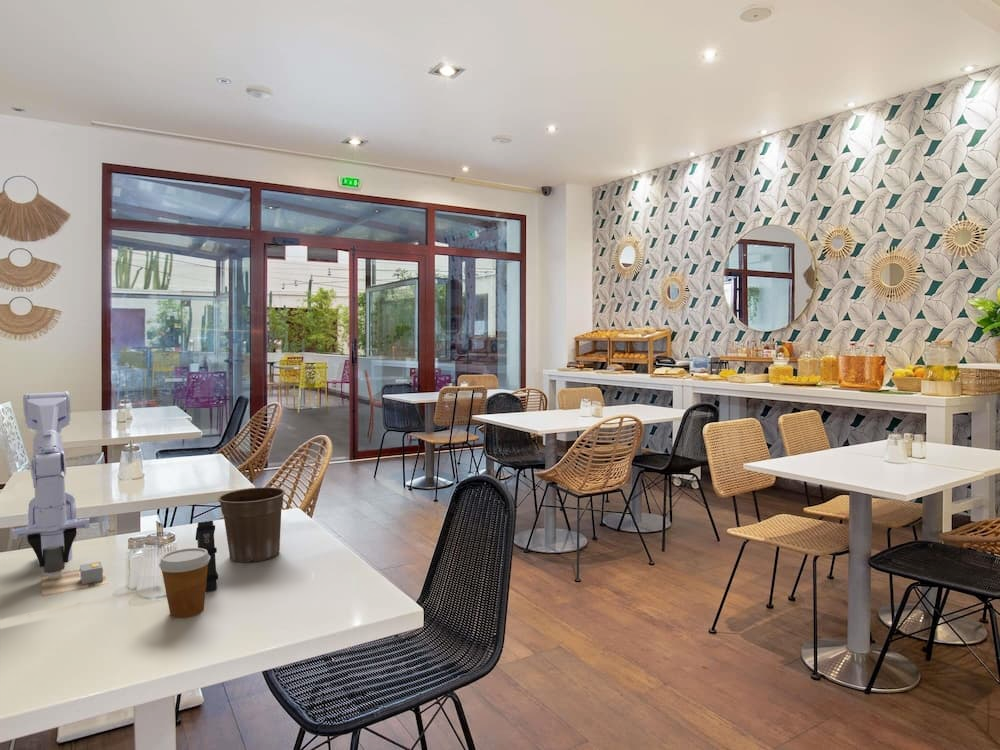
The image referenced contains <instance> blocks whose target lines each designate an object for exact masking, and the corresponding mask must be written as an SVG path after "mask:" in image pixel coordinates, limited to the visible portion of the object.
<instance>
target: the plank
mask: <svg viewBox="0 0 1000 750" xmlns="http://www.w3.org/2000/svg"><path fill="white" fill-rule="evenodd" d="M102 570H103V581H98V582H92V583H87V584H82V582H81V575H80V568H78V569H74V570H73V569H72V570H67V571H61V576H62V577H61V578H59V579H56V580H48V574H46V575H41V577H40V579H41V593H42V594H41V596H42V597H46V596H52V595H58V594H62V593H67V592H71V591H76V590H81V589H87V588H91V587H97V586H102V585H106V584H108V580H107V577H106V575H105V572H104V568H103V567H102Z"/></svg>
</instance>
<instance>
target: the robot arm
mask: <svg viewBox="0 0 1000 750" xmlns="http://www.w3.org/2000/svg"><path fill="white" fill-rule="evenodd" d="M70 395H71V393H70V392H69V391H67V390H65V391H56V392H55V391H54V392H36V393H35V392H34V393H28V392H25V393H24V394H23V395H22V403H23V406H22V408H23V415H24V419H25V421H24V422H25V425H26V426H27V427H26V428H28V429H31V430H34V431H35V432H36V434H35V435H34V437H33V438H32V439H33V440H32V442H33V444H32V446H33V447H32V450H33V452H32V453H33V454H32V455H33V457H31V458H30V473H31V474H30V475H31V479H32V484H33V485H32V486H33V489H34V497H33V498H32V499H31V500H29V503H28V510H27V512H28V513H27V516H28V517H27V520H28V523H27V524H28V525H27V526H24V527H18V528H12V540H18V539H20V538H27V542H28V544H29V546H31V548H32V550H33V551H34V553H35V555H36V558H37V561H36V562H37V565H39V568H44V564H43V549H44V548H47V547H51V546H64V564H66V563H69V561H71V560H73V543H74V541H75V539H76V537H77V534H78V531H77V530H79V529H89V528H91V527H90V526H91V525H90V524H91V523H90V518H89V517H86V518H77V508H76V507H77V504H76V498H75V497H74V495H73V494H71V493H69V492H67V491H66V486H65V485H66V484H65V476H66V475H67V463H66V462H67V461H66V454H65V452H64V451H65V450H64V445H63V435H62V434H61V433H62V429H63V428H66V427H67V426H69V425H70V421H71V413H72V412H71V396H70ZM62 473H64V475H62Z"/></svg>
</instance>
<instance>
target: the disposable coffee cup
mask: <svg viewBox="0 0 1000 750" xmlns="http://www.w3.org/2000/svg"><path fill="white" fill-rule="evenodd" d="M209 560H210V555H208V551H207V550H206V549H202V548H198V547H191V548H189V547H188V548H181V549H176V550H173V551H170V552H167V553H165V554H163V555H162V556H161V558H160V562H159V563H158V567H159V568H160V571H161V574H162V578H163V583H164V590H165V594H166V600H167V604H168V610H169V616H170V617H171V618H175V619H186V618H190V617H194V616H197V615H199V614H201V613H203V611H204V609H205V603H206V602H205V601H206V592H205V591H206V581H207V569H208V563H209Z"/></svg>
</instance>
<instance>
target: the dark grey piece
mask: <svg viewBox="0 0 1000 750" xmlns="http://www.w3.org/2000/svg"><path fill="white" fill-rule="evenodd" d="M43 564H44V567H43V573H47V575H48V580H56V579H59V578H61V577H62V576H61V572H62V570H64V569H65V567H66V566H65V564H66V563H64V546H51V547H47V548H44V549H43Z"/></svg>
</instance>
